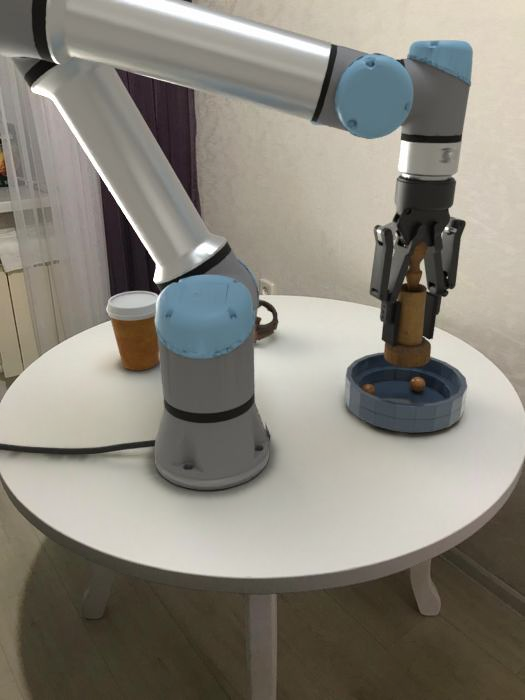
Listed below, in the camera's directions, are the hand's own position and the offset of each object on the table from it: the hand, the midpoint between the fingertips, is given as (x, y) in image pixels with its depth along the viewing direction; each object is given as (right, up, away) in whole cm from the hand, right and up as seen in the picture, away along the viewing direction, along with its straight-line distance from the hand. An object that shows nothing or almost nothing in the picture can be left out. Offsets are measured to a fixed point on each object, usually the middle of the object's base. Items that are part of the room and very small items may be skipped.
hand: (407, 338), depth 86 cm
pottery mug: (-24, +1, +30) cm, 38 cm away
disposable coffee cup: (-43, -4, +19) cm, 47 cm away
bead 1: (-5, -8, +5) cm, 10 cm away
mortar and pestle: (0, -3, +1) cm, 3 cm away
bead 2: (+3, -7, +7) cm, 10 cm away
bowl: (0, -10, +5) cm, 11 cm away
